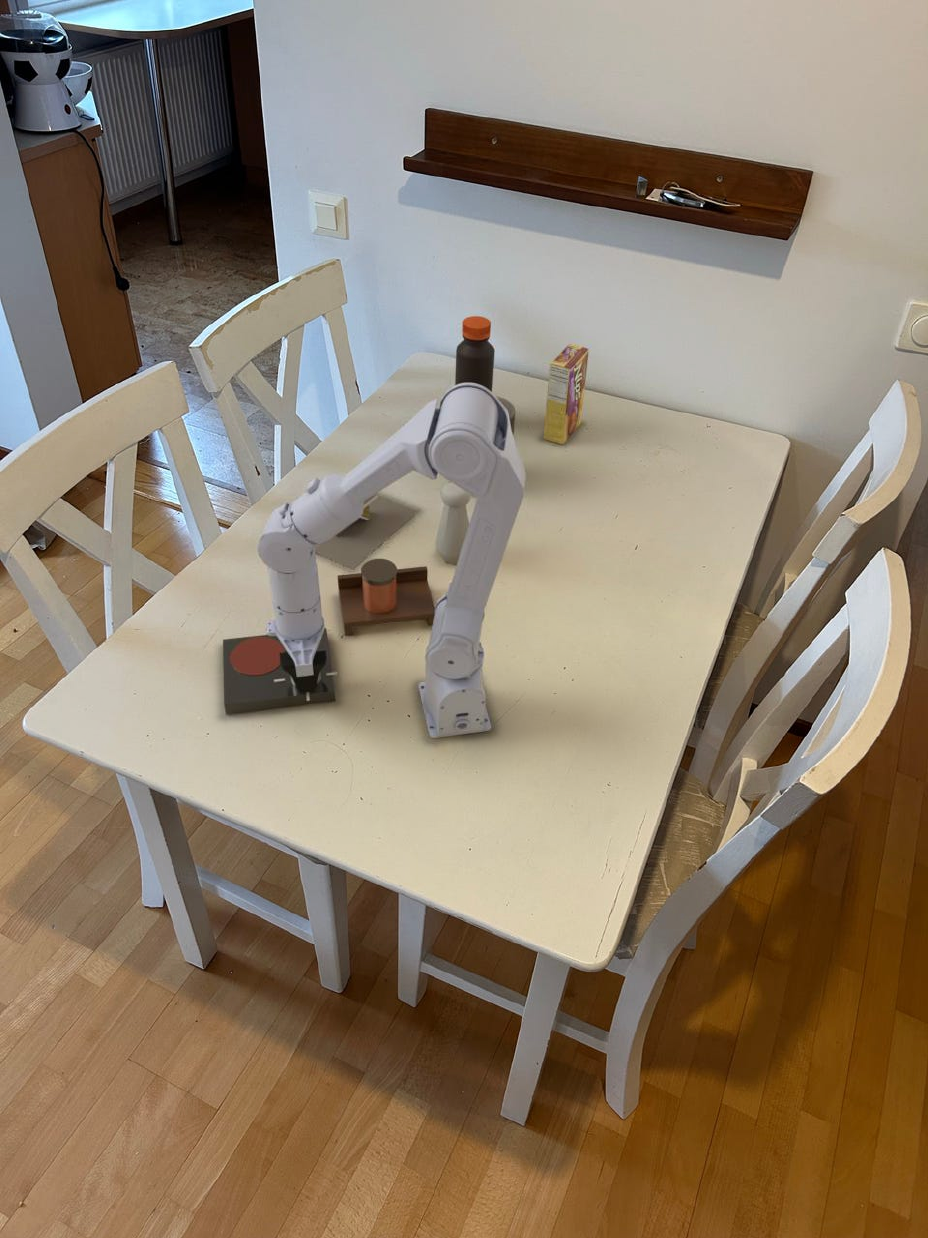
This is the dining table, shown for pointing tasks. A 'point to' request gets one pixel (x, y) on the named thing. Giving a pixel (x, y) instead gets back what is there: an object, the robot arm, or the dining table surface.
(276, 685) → the hob
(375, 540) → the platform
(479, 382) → the bottle
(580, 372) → the candy box
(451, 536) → the salt shaker
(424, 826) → the dining table surface
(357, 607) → the spice shelf
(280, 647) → the disc
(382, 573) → the jar
